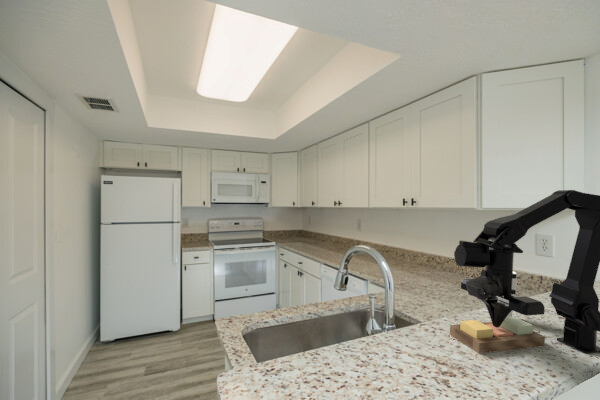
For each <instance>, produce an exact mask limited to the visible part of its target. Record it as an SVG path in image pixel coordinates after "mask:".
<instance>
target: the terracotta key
mask: <svg viewBox="0 0 600 400" xmlns="http://www.w3.org/2000/svg"><path fill="white" fill-rule="evenodd" d="M487 326H489V327H490V328H492V329H493V335H495V336H497V337H503V336H513V333H512V332H510V331H508V330H506V329H504V328H502V327H498V328H496V327H494V326H493V324H488V325H487Z"/></svg>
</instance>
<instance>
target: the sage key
mask: <svg viewBox="0 0 600 400" xmlns="http://www.w3.org/2000/svg"><path fill="white" fill-rule="evenodd" d="M500 326H501V327H503V328H505V329H507V330H509V331H511V332H513V333H515V334H517V335H523V334H533V331H534V325H533V324H531V323H528V322H526V321H524V320H522V319H520V318H517V317H515V316H512V317H506V318H505V320H504V321H503V323H502V324H501V325H500Z"/></svg>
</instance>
